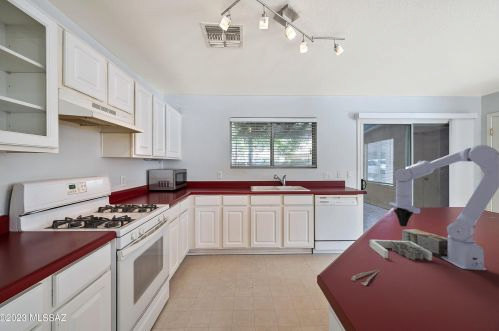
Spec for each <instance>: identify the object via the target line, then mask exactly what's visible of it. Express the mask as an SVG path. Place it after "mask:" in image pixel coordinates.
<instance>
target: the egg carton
mask: <svg viewBox="0 0 499 331" xmlns="http://www.w3.org/2000/svg"><path fill="white" fill-rule="evenodd" d="M393 241H394V240H393ZM393 241H391V242H392V243H393V245H392V248H391V249H392V250H391V251H393V252H396V253H398V255H401V256H405V258H406V259H409V260H416V259H418V260H424V257H423V252H424V251H426V250H420V249H418V247H414V246H412V245H410V244H409V243H401V244H399V243H398V244H397V245H396V244H395V243H394V242H393Z"/></svg>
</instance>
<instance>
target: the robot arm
mask: <svg viewBox="0 0 499 331" xmlns="http://www.w3.org/2000/svg"><path fill="white" fill-rule="evenodd" d="M458 162H470V163H471V162H473V163H474V164H475V165H477V166H478V167H479V169H480V170H481V172H482V173H483V174H484V175H483V177H482V178H481V180H480V182H479V183H478V185H477V186H476V188H475V190H474V191H473V193H472V194H471V196H470V198H469V199H468V201H467V203H466V204H465V206H464V207H463V209H462V211H461V212H460V214H458V217H457V218H456V219H455V220H454V222H452V223H450V224H448V225H447V227H446V232H447V234H448V235H447V238H448V254H447V257H445V256H441V257H440V258H441V259H443V260H445V261H447V262H449V263H451V264H453V265H454V266H456V267H458V268H459V269H462V270H475V271H487V268H486V267H485V251H484V249H483V248H482V247H481V246H480V245H478V243H476V240H475V239H474V237H473V235H474V234H475V232H476V224H477V223H478V221H479V219H480V218H481V216H482V215H483V212H484V211H485V209H486V208H487V206H488V205H489V203H490V202H491V200H492V199H493V197H494V196H495V194H496V193H497V191H498V189H499V151H498V150H497V149H495V148H494V147H492V146H489V145H487V144H486V145H485V144H478V145H475V146H473V147H467V148H463V149H461V150H457V151H455V152H453V153H450V154H447V155H445V156H442V157H439V158H437V159H434V160H432V161H427V160H418V161H417V163H414V164H411V165H406V166H405V168H398V169H397V170H396V171H394V173H393V174H394V179H395V181H396V183H395V184H396V185H395V202H388V204H389V205H388V206H389V208H390V207H391V208H394V209H393V210H394V211H393V212H394V214H395V215H396V216H397V220H398V223H399V226H400V227H407V225H408V223H409V220H410V218H411V217H412V215H413V214H421V208H418V207H417V206H416V207H415V206H414V205H412V201H413V197H412V196H413V182H412V181H413V180H414V179H418V178H421V177H425V176H427V175H430V174H433V172H434V170H435V169H438V168H441V167H445V166H449V165H452V164H456V163H458Z"/></svg>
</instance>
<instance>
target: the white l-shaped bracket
mask: <svg viewBox="0 0 499 331" xmlns="http://www.w3.org/2000/svg"><path fill="white" fill-rule="evenodd" d="M391 241H393V242H394V243H395V244H396V245H397V244H398V243H399V244H401V243H409V244H410V245H412V246H414V247H418V249H420V250H426V249H424V248H422V247H420V246H419V245H417V244H415V243H413V242H411V241H402V240H394V239H393V240H391V239H389V240H388V239H369V241H368V242H369V243H368V244H369V247H370V248H371V249H373V251H374V252H377V253H378V254H379V255H380V256H381V257H382V258H384V259H388V257H389V250H388V249H392V245H393V243H392V242H391ZM423 259H426V260H427V261H433V255H432V252H430V251H428V250H426V251H424V252H423Z"/></svg>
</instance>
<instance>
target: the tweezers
mask: <svg viewBox="0 0 499 331" xmlns="http://www.w3.org/2000/svg"><path fill="white" fill-rule="evenodd" d="M379 272H380V270H379V269H376V270H370V271H367V272H360V273H358V274H355V275H353V276H351V281H354V282H356V280H357V279H359V278H362V277H366V276H367V275H370V274H372V275H371V276H369V277H368V278H367V279H366V281H364V282H360V284H361V285H362V286H367V285H368V283H369V282H370V281H371V280H372V279H373V278H374V276H376V275H377V274H378V273H379Z"/></svg>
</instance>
